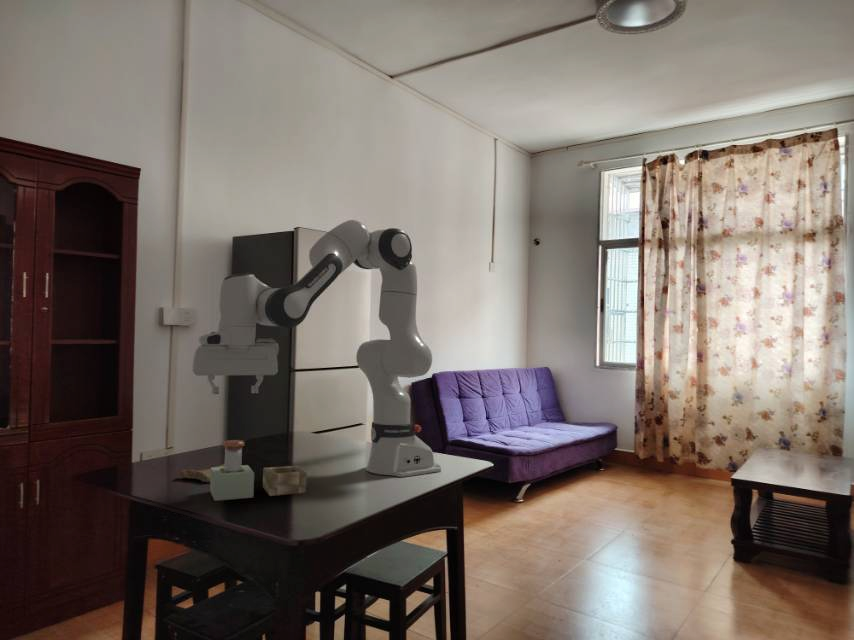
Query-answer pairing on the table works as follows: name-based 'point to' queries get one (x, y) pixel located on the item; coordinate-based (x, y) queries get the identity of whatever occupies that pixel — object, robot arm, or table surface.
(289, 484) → the mount block
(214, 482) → the socket block
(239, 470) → the pin
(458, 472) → the table surface
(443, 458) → the table surface
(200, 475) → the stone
